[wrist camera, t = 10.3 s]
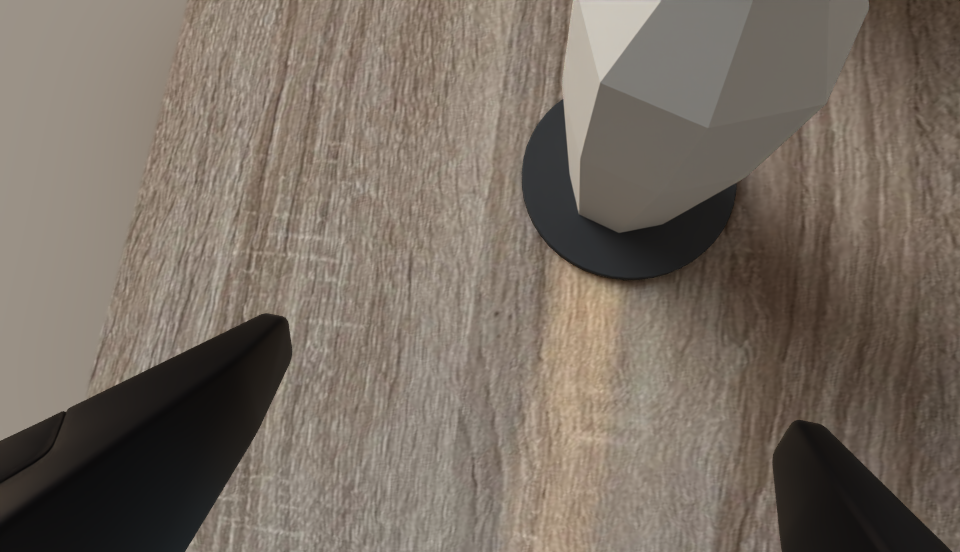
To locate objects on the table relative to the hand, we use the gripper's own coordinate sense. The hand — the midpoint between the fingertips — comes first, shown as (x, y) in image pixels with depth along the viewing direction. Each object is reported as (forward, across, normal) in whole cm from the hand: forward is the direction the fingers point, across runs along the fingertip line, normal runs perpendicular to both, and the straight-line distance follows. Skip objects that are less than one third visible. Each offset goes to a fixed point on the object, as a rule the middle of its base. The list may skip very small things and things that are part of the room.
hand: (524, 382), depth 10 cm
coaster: (+16, -3, +2) cm, 16 cm away
